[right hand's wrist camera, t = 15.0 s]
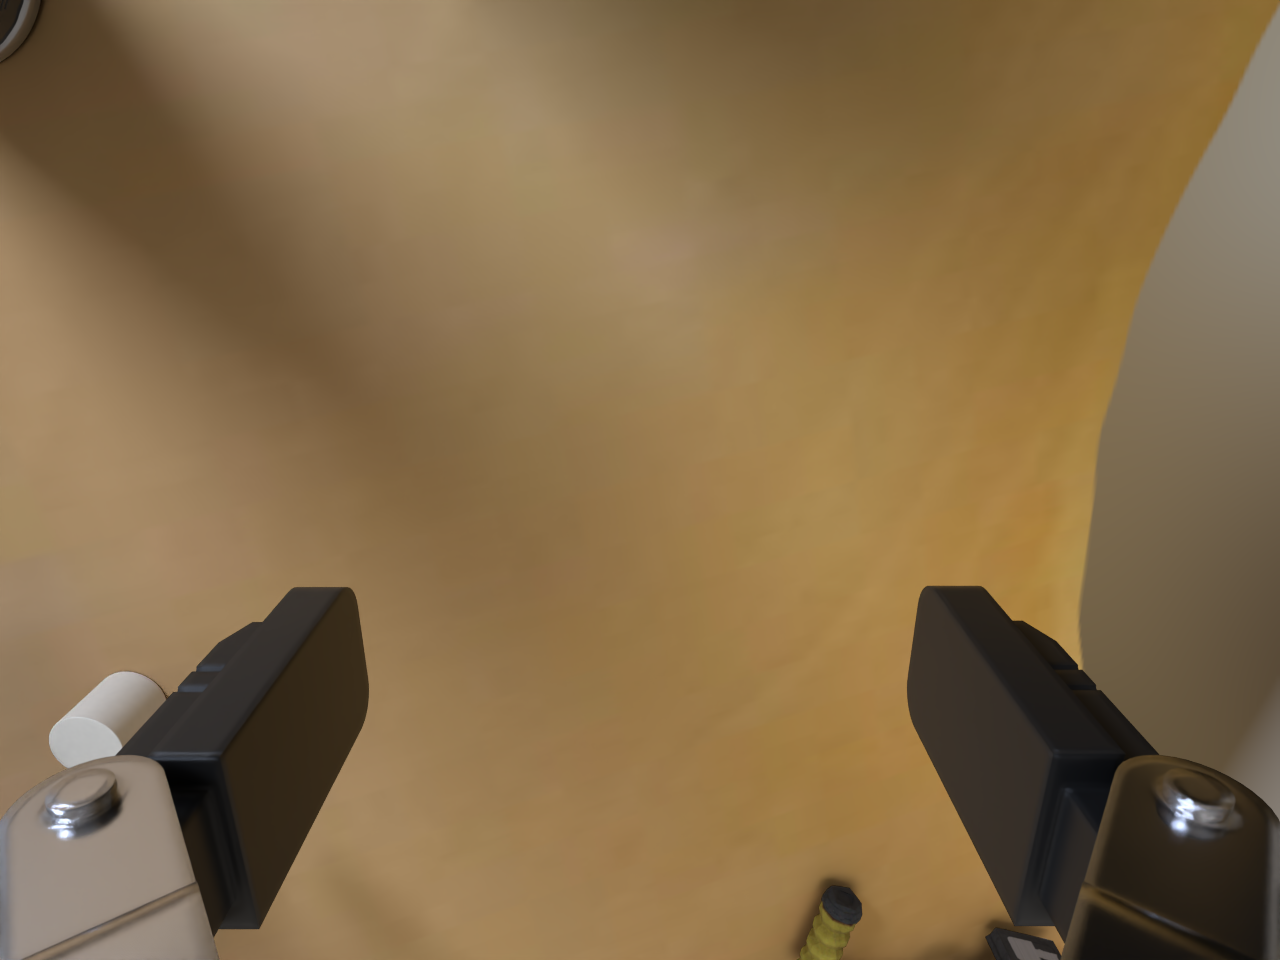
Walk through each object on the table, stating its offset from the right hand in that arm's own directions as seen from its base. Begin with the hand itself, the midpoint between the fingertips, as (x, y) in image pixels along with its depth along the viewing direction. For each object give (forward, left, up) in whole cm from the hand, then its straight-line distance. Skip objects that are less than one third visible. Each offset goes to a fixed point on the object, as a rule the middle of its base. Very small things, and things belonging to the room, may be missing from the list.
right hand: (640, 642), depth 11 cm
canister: (0, -37, -29) cm, 47 cm away
